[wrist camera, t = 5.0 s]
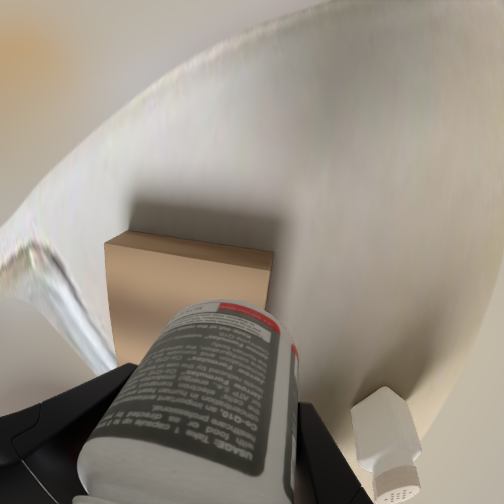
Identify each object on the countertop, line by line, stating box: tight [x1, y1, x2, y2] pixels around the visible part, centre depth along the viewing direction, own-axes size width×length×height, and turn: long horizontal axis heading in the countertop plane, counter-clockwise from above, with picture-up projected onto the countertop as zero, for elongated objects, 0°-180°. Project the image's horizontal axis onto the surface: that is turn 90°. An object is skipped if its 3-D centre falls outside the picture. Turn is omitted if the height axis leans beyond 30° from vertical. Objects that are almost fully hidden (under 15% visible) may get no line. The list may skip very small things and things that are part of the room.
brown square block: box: [104, 230, 274, 367], centre depth 19 cm, size 10×10×3 cm
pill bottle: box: [72, 298, 299, 504], centre depth 6 cm, size 5×5×8 cm
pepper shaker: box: [351, 386, 422, 504], centre depth 17 cm, size 4×4×10 cm
